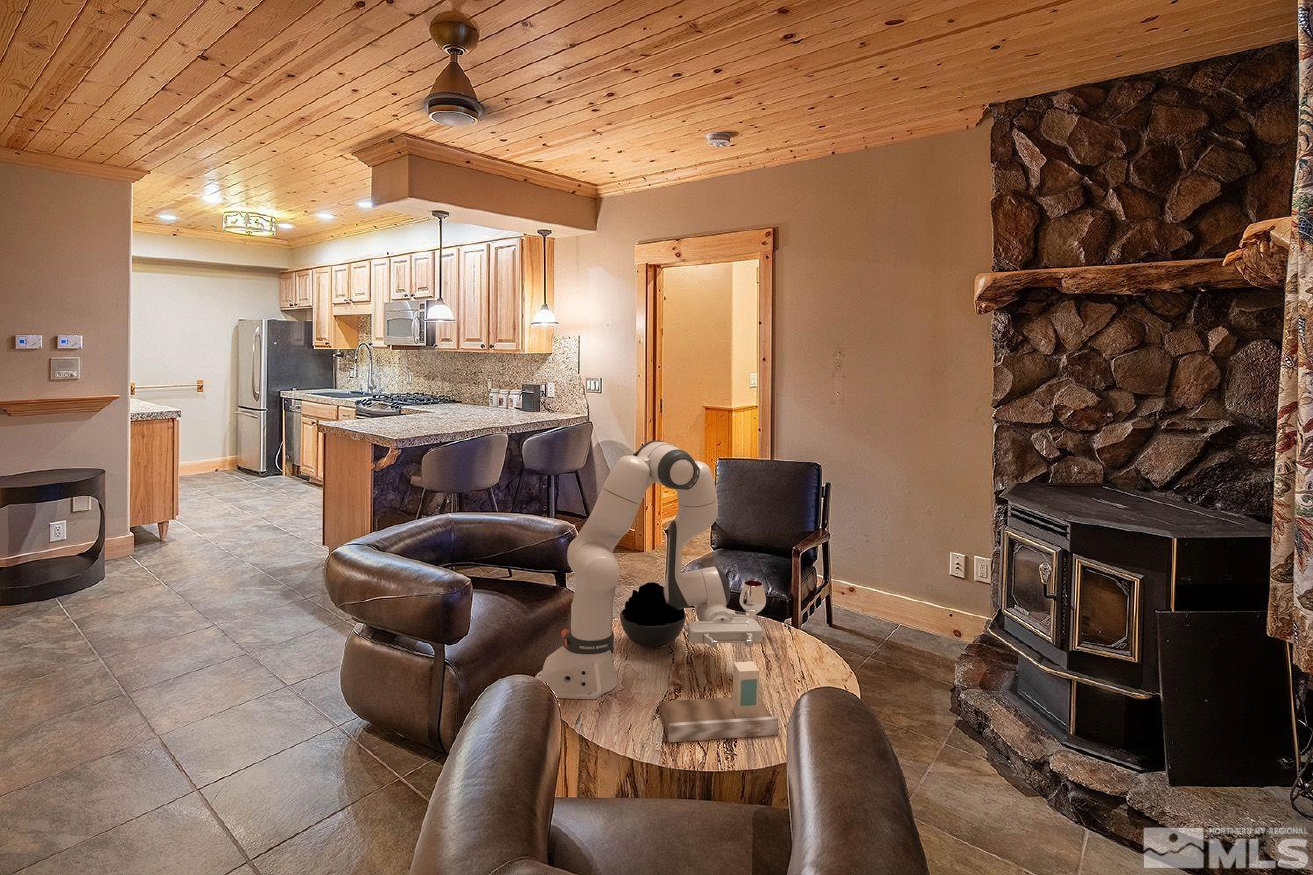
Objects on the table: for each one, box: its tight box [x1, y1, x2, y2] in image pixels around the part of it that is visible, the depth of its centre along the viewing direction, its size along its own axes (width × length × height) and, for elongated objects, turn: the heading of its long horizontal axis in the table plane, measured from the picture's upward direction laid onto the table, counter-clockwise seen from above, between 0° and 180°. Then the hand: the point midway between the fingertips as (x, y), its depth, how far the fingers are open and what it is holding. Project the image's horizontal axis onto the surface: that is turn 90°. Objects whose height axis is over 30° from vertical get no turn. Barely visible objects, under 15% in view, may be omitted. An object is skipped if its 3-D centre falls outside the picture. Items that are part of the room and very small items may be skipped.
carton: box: [731, 660, 760, 719], centre depth 170 cm, size 5×5×12 cm
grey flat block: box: [658, 695, 779, 743], centre depth 170 cm, size 26×16×4 cm, turn 99°
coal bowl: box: [619, 581, 687, 650], centre depth 212 cm, size 20×20×19 cm
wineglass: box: [739, 580, 767, 619], centre depth 219 cm, size 8×8×18 cm
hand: (731, 644), depth 181 cm, fingers open, 8 cm apart
